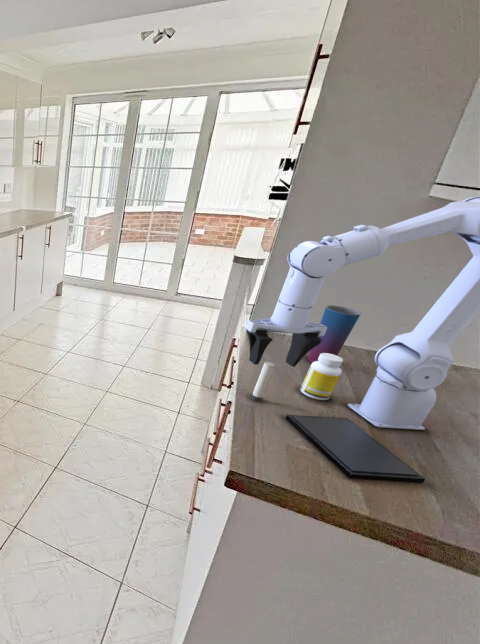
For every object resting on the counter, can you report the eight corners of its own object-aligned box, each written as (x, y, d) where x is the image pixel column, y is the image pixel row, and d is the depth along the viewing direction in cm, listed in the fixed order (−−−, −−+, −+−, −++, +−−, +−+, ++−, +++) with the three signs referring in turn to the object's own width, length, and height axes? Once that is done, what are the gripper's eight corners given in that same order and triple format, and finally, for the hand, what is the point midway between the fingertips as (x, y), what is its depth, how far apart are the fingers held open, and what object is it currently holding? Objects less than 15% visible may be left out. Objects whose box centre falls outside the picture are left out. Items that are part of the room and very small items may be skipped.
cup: (297, 356, 111) (319, 305, 105) (319, 356, 112) (342, 304, 106) (319, 368, 105) (343, 315, 99) (342, 368, 106) (368, 314, 100)
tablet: (345, 422, 84) (347, 417, 84) (422, 483, 69) (426, 478, 69) (285, 418, 85) (287, 413, 84) (349, 478, 70) (352, 473, 69)
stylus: (257, 397, 92) (271, 362, 88) (262, 401, 90) (276, 366, 87) (249, 396, 92) (262, 361, 88) (253, 401, 91) (267, 365, 87)
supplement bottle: (334, 402, 91) (353, 364, 87) (307, 399, 92) (324, 361, 88) (320, 389, 96) (337, 352, 92) (294, 386, 97) (310, 349, 93)
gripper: (318, 298, 85) (294, 356, 90) (246, 295, 85) (227, 352, 91) (345, 310, 78) (317, 372, 84) (267, 307, 79) (244, 368, 84)
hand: (271, 363), depth 87 cm, fingers open, 7 cm apart
